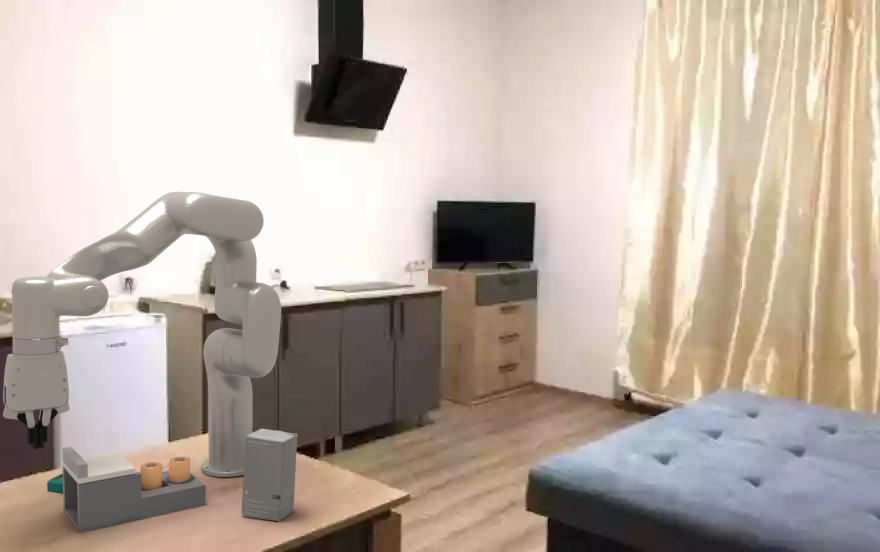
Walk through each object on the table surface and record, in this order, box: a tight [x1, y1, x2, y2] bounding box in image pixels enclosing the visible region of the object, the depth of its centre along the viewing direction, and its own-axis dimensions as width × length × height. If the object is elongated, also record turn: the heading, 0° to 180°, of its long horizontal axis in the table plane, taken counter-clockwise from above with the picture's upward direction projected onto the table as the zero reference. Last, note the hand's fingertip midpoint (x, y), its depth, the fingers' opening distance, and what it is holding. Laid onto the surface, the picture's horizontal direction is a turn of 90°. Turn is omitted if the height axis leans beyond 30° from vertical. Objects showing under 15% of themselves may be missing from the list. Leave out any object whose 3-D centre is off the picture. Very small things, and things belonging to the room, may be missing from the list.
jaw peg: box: [139, 461, 163, 491], centre depth 159 cm, size 4×4×8 cm
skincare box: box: [241, 428, 298, 522], centre depth 156 cm, size 8×7×16 cm
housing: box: [62, 456, 207, 533], centre depth 157 cm, size 24×12×9 cm, turn 128°
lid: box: [61, 446, 136, 484], centre depth 153 cm, size 10×12×4 cm
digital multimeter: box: [46, 472, 63, 494], centre depth 172 cm, size 7×15×3 cm, turn 168°
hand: (37, 446), depth 146 cm, fingers closed
